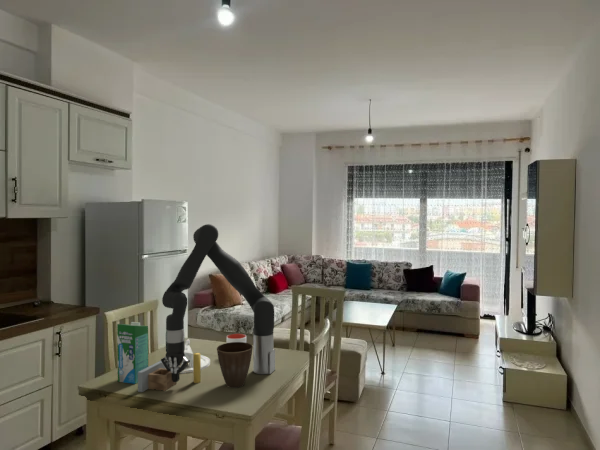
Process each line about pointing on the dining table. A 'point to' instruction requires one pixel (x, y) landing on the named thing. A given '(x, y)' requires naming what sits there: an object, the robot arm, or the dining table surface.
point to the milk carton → (131, 351)
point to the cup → (236, 338)
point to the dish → (189, 355)
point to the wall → (144, 375)
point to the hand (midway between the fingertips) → (175, 381)
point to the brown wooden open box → (160, 379)
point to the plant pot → (234, 362)
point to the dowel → (196, 368)
